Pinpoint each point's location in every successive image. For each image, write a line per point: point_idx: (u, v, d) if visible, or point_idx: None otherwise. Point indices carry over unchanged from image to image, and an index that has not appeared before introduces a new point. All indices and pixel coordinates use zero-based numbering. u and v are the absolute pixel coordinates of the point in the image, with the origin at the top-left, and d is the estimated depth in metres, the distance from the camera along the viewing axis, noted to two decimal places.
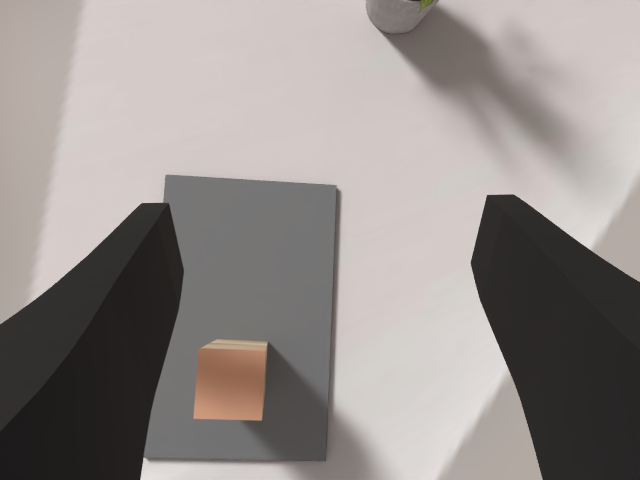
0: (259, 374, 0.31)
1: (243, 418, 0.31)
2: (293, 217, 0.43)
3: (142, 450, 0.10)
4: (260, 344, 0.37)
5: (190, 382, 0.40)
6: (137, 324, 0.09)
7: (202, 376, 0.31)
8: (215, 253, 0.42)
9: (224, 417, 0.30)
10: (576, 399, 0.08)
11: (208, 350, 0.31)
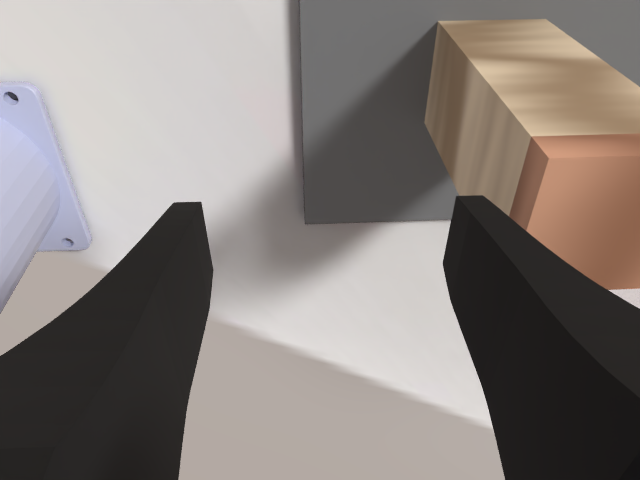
0: (610, 281, 0.13)
1: None
2: None
3: (180, 449, 0.10)
4: None
5: None
6: (175, 323, 0.09)
7: None
8: None
9: (531, 225, 0.12)
10: (533, 401, 0.08)
11: None
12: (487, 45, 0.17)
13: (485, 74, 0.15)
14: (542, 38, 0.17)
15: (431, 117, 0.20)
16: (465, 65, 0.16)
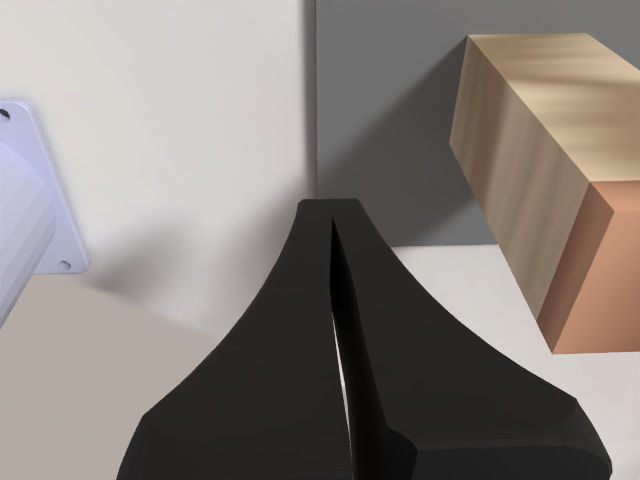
0: None
1: (571, 321, 0.11)
2: None
3: None
4: None
5: None
6: None
7: None
8: None
9: (587, 282, 0.10)
10: (358, 407, 0.08)
11: None
12: (526, 64, 0.15)
13: (527, 100, 0.13)
14: (586, 55, 0.15)
15: (457, 139, 0.18)
16: (501, 87, 0.14)
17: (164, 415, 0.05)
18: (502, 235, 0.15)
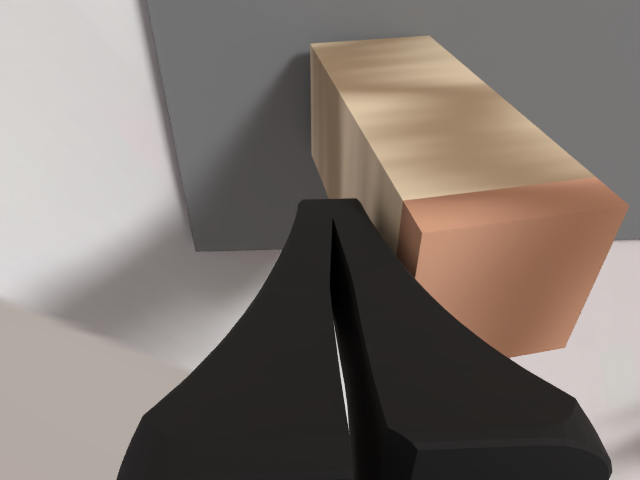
0: (514, 348, 0.12)
1: None
2: None
3: None
4: None
5: None
6: None
7: (547, 232, 0.09)
8: (636, 14, 0.17)
9: None
10: (358, 407, 0.08)
11: (613, 229, 0.10)
12: (362, 73, 0.14)
13: (356, 113, 0.12)
14: (423, 60, 0.15)
15: (316, 150, 0.18)
16: (337, 99, 0.14)
17: (164, 415, 0.05)
18: None
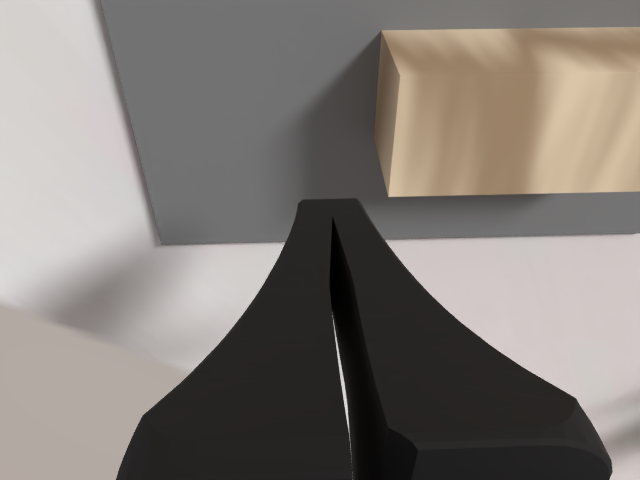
0: None
1: None
2: None
3: None
4: None
5: None
6: None
7: None
8: (585, 9, 0.17)
9: None
10: (358, 407, 0.08)
11: None
12: (490, 61, 0.15)
13: (585, 70, 0.14)
14: (451, 38, 0.17)
15: (418, 178, 0.16)
16: (532, 82, 0.14)
17: (164, 415, 0.05)
18: (580, 182, 0.17)
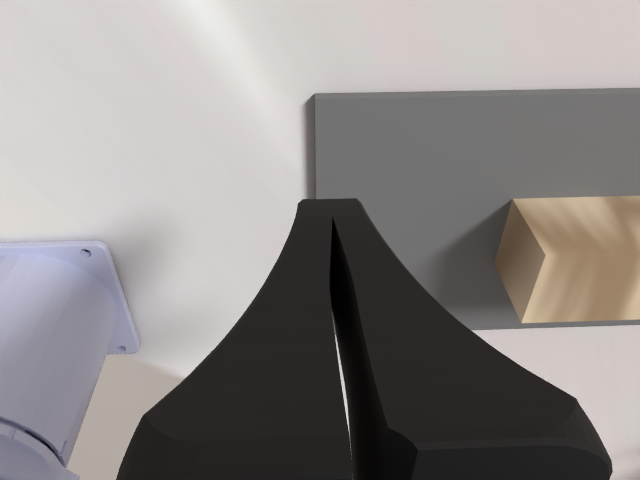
0: None
1: None
2: None
3: None
4: None
5: (445, 166, 0.23)
6: None
7: None
8: None
9: None
10: (358, 407, 0.08)
11: None
12: (603, 238, 0.21)
13: None
14: (566, 209, 0.23)
15: (545, 312, 0.23)
16: (635, 257, 0.21)
17: (164, 414, 0.05)
18: None
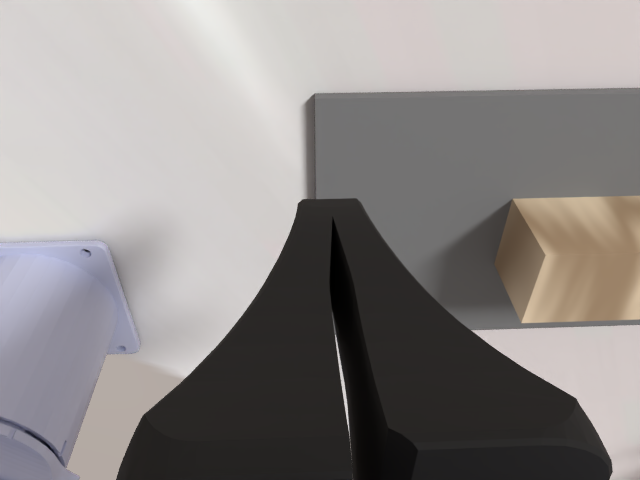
0: None
1: None
2: None
3: None
4: None
5: (445, 166, 0.23)
6: None
7: None
8: None
9: None
10: (358, 407, 0.08)
11: None
12: (603, 238, 0.21)
13: None
14: (566, 209, 0.23)
15: (545, 312, 0.23)
16: (635, 257, 0.21)
17: (164, 414, 0.05)
18: None
